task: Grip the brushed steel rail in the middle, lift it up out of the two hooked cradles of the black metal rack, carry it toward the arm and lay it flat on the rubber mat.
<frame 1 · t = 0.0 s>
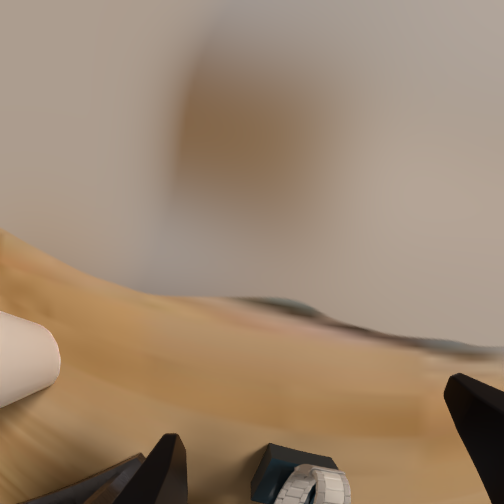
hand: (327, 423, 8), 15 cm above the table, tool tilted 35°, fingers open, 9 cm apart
watch: (290, 471, 20), on the table
foam cup: (38, 355, 22), on the table
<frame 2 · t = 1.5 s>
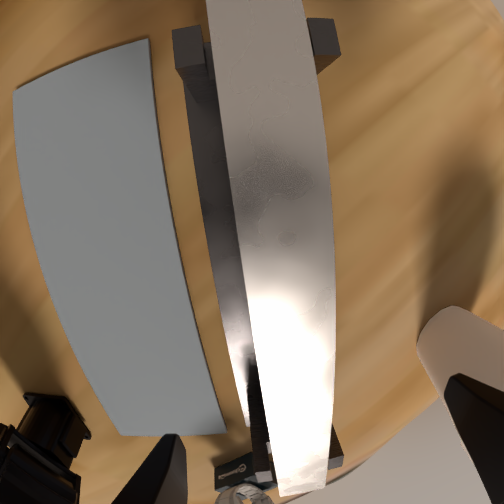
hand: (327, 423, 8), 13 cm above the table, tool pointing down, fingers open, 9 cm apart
rail: (283, 308, 14), point 6 cm above the table, touching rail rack
watch: (244, 465, 28), on the table
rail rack: (267, 264, 20), on the table
foam cup: (441, 333, 24), on the table
mat: (112, 286, 20), on the table
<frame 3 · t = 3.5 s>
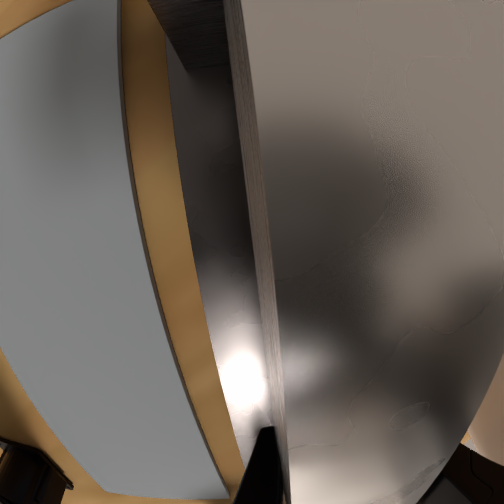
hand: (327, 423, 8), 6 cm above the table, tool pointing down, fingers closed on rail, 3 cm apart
rail: (330, 432, 7), point 6 cm above the table, touching gripper, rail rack
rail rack: (293, 327, 13), on the table
foam cup: (484, 382, 17), on the table
mat: (72, 347, 13), on the table
when the fingers open (2 cm above the table, at t = 8.2 s): rail drops 1 cm, resting on mat.
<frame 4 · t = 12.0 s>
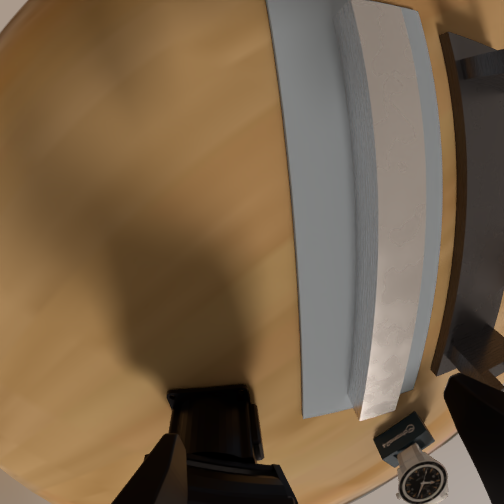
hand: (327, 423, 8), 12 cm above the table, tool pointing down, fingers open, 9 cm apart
rail: (377, 232, 18), resting on mat
watch: (398, 430, 27), on the table
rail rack: (483, 217, 19), on the table
mat: (374, 230, 19), on the table
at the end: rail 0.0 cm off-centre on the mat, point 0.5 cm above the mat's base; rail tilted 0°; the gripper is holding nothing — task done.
